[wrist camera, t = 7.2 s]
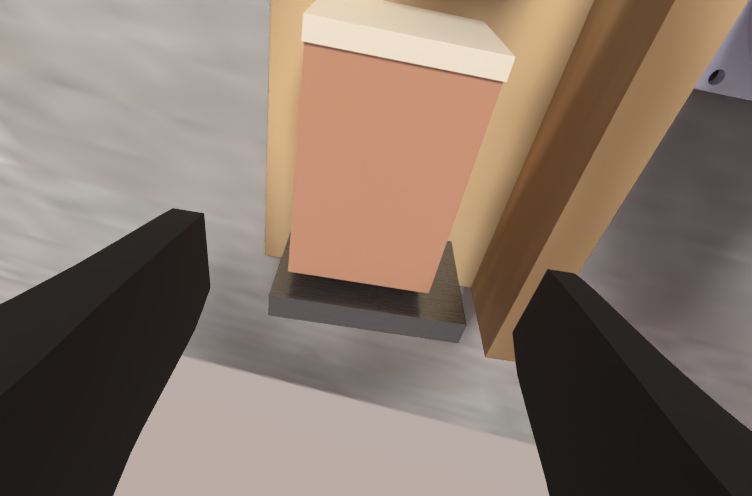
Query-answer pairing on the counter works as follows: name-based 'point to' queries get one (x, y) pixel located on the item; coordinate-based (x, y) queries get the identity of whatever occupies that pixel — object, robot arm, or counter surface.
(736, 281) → the counter surface
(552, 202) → the shelf
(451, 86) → the boxed book
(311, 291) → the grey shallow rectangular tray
